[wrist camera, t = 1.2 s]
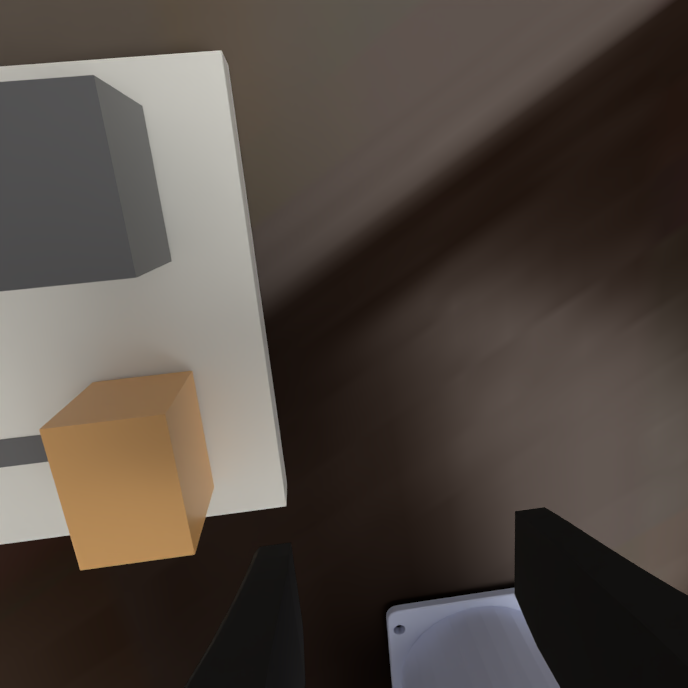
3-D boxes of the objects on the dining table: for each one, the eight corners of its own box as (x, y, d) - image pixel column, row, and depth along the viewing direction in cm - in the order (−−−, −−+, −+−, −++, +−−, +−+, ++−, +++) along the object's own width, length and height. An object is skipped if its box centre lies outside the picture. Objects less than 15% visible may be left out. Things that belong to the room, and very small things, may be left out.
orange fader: (214, 486, 17) (194, 554, 14) (122, 498, 17) (80, 570, 14) (192, 370, 16) (165, 414, 13) (92, 382, 16) (39, 429, 13)
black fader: (171, 261, 15) (136, 278, 12) (65, 271, 15) (-2, 291, 12) (142, 105, 14) (93, 75, 11) (26, 115, 14) (-62, 86, 10)
